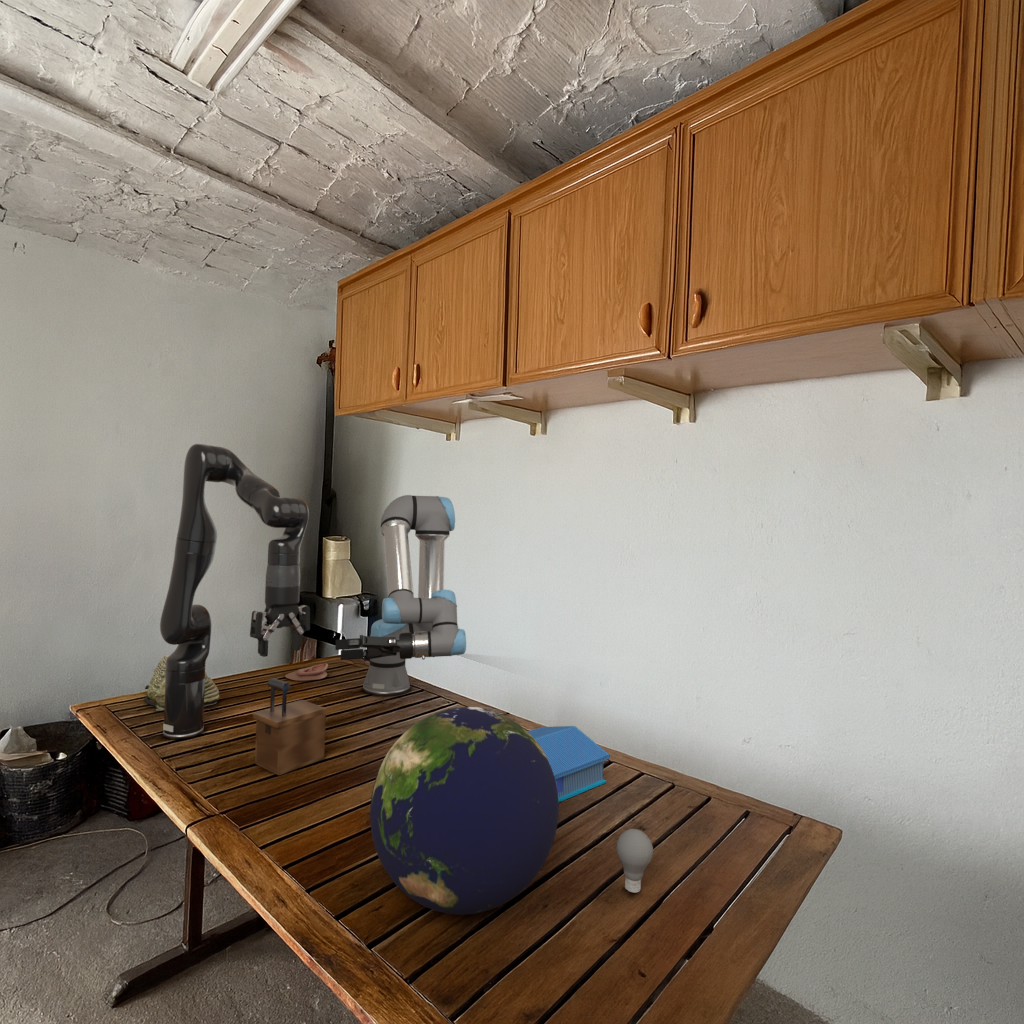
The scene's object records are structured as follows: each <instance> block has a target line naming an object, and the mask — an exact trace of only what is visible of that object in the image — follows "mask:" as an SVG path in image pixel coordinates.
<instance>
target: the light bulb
mask: <svg viewBox="0 0 1024 1024" xmlns="http://www.w3.org/2000/svg"><path fill="white" fill-rule="evenodd" d="M615 849H616V854H617V857H618V859H619V861H620V863H621V865H622V867H623V873H624V874H623V875H624V876H625V878H624V888H625V890H627V891H628V892H630V893H634V894H635V893H639V892H640V891H641V889H642V887H641V886H642V879H643V877H644V875H645V871H646V868H647V867H648V866H649V864H650V863H651V861H652V859H653V855H654V847H653V843H652V841H651V838H649V836H648V835H647V834H646V833H645V832H643V831H642V830H641V829H636V828H629V829H627V830H625V831H623V832H622V833H621V834H620V835H619V837H618V839H617V841H616V847H615Z"/></svg>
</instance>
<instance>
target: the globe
mask: <svg viewBox="0 0 1024 1024" xmlns="http://www.w3.org/2000/svg"><path fill="white" fill-rule="evenodd" d="M527 731H528V730H526V728H524V727H523V726H522V725H521V724H519V723H518V722H516V721H515V720H513V719H512V718H510V717H508V716H506V715H504V714H502V713H499V712H497V711H494V710H491V709H487V708H482V707H480V706H479V707H478V706H461V707H460V706H459V707H453V708H447V709H442V710H441V711H437V712H435V713H433V714H429V715H428V716H426V717H424V718H422V719H421V720H419V721H418V722H416V723H415V724H413V725H412V726H410V728H408V729H407V730H406V731H404V732H403V734H401V736H400V737H399V738H398V739H397V740H396V741H394V743H393V745H392V746H391V748H390V749H389V750H388V751H387V753H386V755H385V757H384V758H383V761H382V762H381V765H380V767H379V769H378V771H377V774H376V777H375V780H374V784H373V787H372V792H371V798H370V807H369V821H370V830H371V831H370V832H371V837H372V843H373V845H374V848H375V851H376V854H377V857H378V859H379V861H380V863H381V865H382V867H383V869H384V871H385V872H386V874H387V876H388V877H389V878H390V879H391V881H392V882H393V883H394V885H395V886H397V887H398V888H399V889H400V890H401V891H402V893H404V894H405V895H406V896H407V897H408V898H409V899H411V900H413V901H414V902H416V903H417V904H419V905H421V906H423V907H425V908H427V909H430V910H432V911H435V912H438V913H442V914H447V915H454V916H467V915H468V916H469V915H476V914H481V913H485V912H488V911H492V910H494V909H497V908H499V907H501V906H503V905H505V904H507V903H508V902H510V901H511V900H513V899H514V898H516V897H517V896H518V895H520V894H521V892H523V891H524V890H525V889H526V888H527V887H528V886H529V885H530V884H531V883H532V882H533V881H534V879H535V878H536V877H537V876H538V875H539V873H540V872H541V870H542V869H543V866H544V865H545V863H546V861H547V859H548V857H549V855H550V852H551V850H552V847H553V845H554V842H555V838H556V834H557V828H558V823H559V812H560V809H559V807H560V805H559V803H560V802H559V803H558V792H557V786H556V781H555V777H554V774H553V771H552V768H551V766H550V763H549V761H548V758H547V756H546V755H545V753H544V751H543V750H542V748H541V746H540V745H539V744H538V742H537V741H536V740H535V739H534V738H533V737H532V736H531V735H530V734H529V732H527Z"/></svg>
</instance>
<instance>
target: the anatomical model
mask: <svg viewBox="0 0 1024 1024" xmlns="http://www.w3.org/2000/svg"><path fill="white" fill-rule="evenodd" d="M328 667H329V664H328V663H327V662H323V663H319V664H315V665H311V666H308V667H305V668H300V669H297V670H295V671H292V672H289V673H287V674H285V676H284V678H286V679H288V680H292V681H303V682H304V681H316V680H321V679H325V678H326V677H328V672H327V670H328Z"/></svg>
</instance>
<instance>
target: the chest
mask: <svg viewBox="0 0 1024 1024" xmlns="http://www.w3.org/2000/svg"><path fill="white" fill-rule="evenodd" d="M326 722H327V713H325V714H322V715H319V716H315V717H312V718H309V719H306V720H302V721H299V722H296V723H292V724H289V725H286V726H282V727H279V728H275V727H273V726H270V725H268V724H266V723H263V722H261V721H258V720H256V719H255V725H256V726H255V749H254V764H255V765H257V766H259V767H260V768H263V769H265V770H267V771H269V772H271V773H272V774H275V775H277V776H281V775H284V774H287V773H289V772H292V771H295V770H297V769H301V768H304V767H306V766H309V765H311V764H314V763H316V762H319V761H322V760H324V759H325V751H326Z"/></svg>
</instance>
